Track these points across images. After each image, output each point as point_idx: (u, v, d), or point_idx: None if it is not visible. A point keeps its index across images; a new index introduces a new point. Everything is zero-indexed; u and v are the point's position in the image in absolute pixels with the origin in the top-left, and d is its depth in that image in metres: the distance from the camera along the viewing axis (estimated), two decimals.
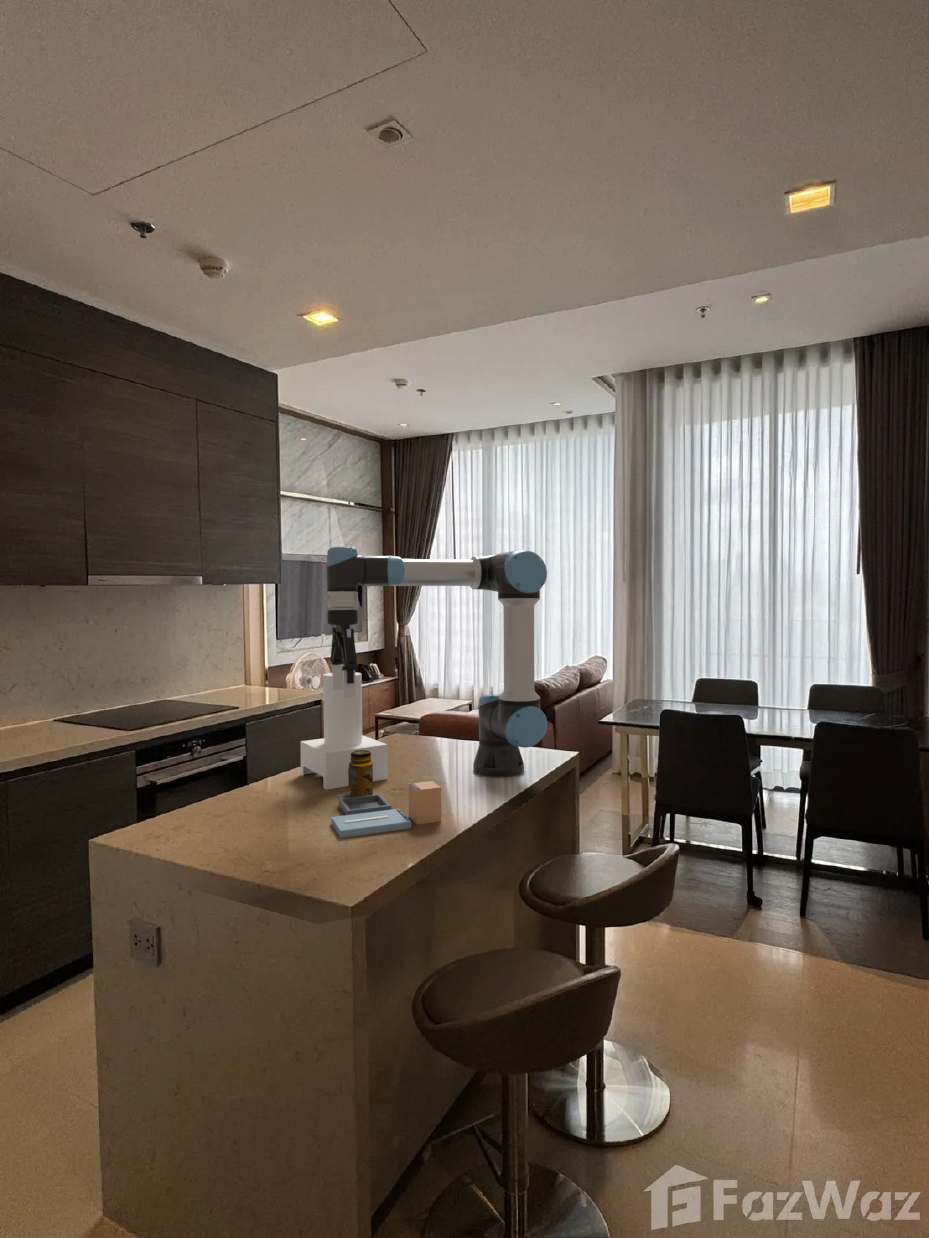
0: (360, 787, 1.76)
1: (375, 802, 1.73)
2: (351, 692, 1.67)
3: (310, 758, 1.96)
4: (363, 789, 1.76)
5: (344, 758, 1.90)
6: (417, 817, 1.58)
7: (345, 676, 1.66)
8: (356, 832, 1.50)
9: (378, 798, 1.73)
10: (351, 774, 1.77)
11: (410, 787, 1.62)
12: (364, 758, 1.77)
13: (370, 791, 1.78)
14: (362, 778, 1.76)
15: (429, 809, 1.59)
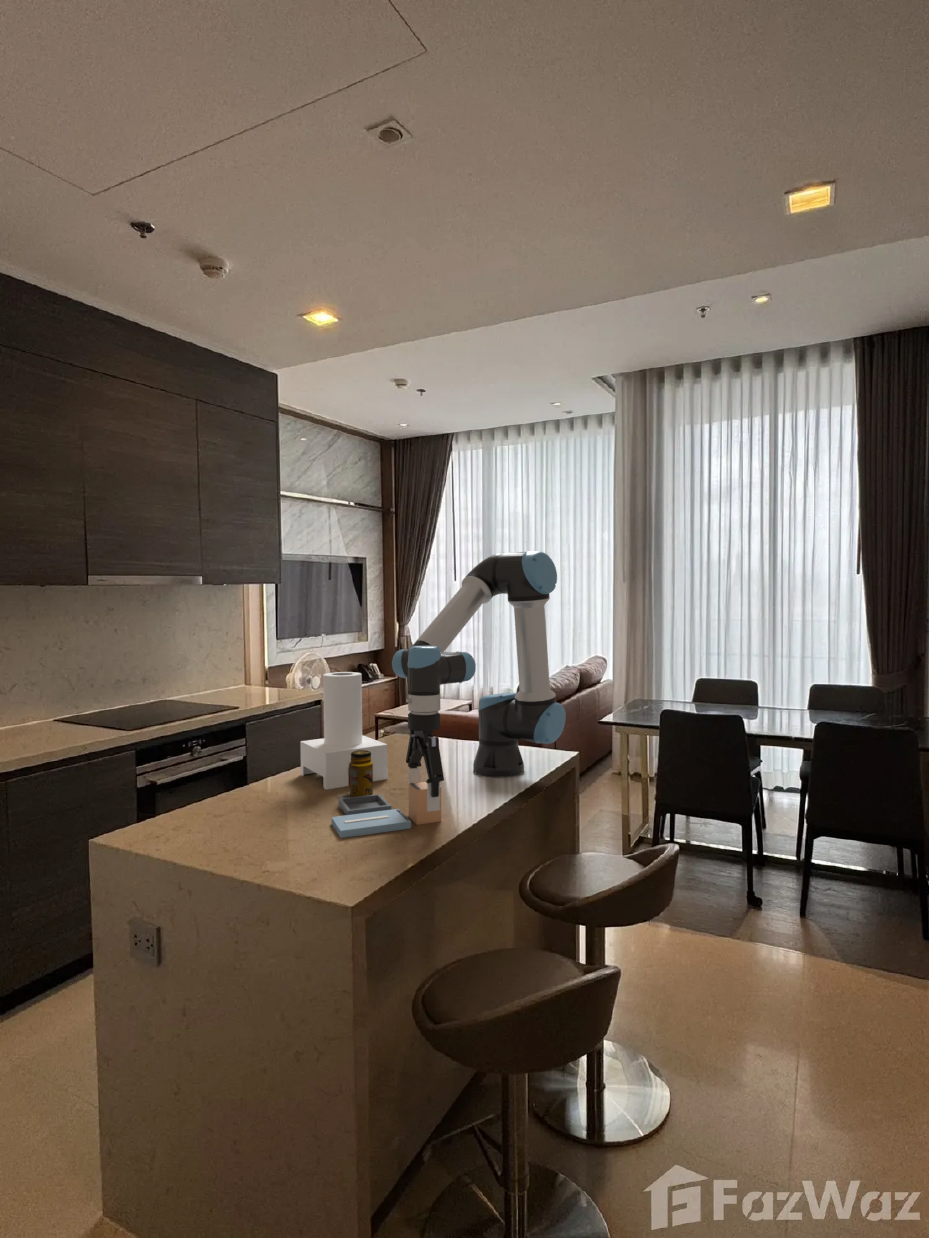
0: (360, 787, 1.76)
1: (375, 802, 1.73)
2: (435, 806, 1.55)
3: (310, 758, 1.96)
4: (363, 789, 1.76)
5: (344, 758, 1.90)
6: (417, 817, 1.58)
7: (429, 789, 1.54)
8: (356, 832, 1.50)
9: (378, 798, 1.73)
10: (351, 774, 1.77)
11: (410, 787, 1.62)
12: (364, 758, 1.77)
13: (370, 791, 1.78)
14: (362, 778, 1.76)
15: None
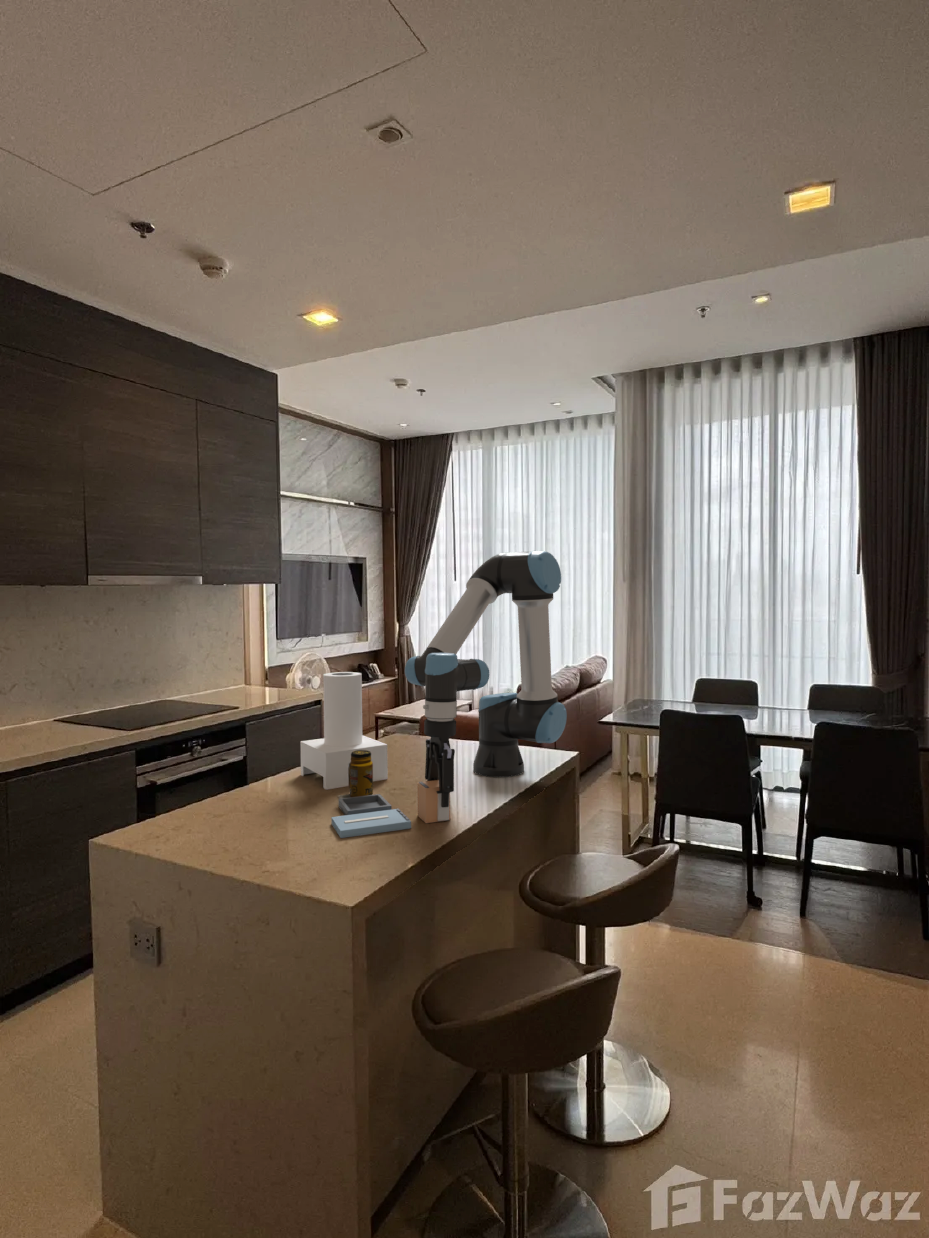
0: (360, 787, 1.76)
1: (375, 802, 1.73)
2: (445, 815, 1.59)
3: (310, 758, 1.96)
4: (363, 789, 1.76)
5: (344, 758, 1.90)
6: (426, 815, 1.58)
7: (439, 799, 1.59)
8: (356, 832, 1.50)
9: (378, 798, 1.73)
10: (351, 774, 1.77)
11: (419, 786, 1.62)
12: (364, 758, 1.77)
13: (370, 791, 1.78)
14: (362, 778, 1.76)
15: None
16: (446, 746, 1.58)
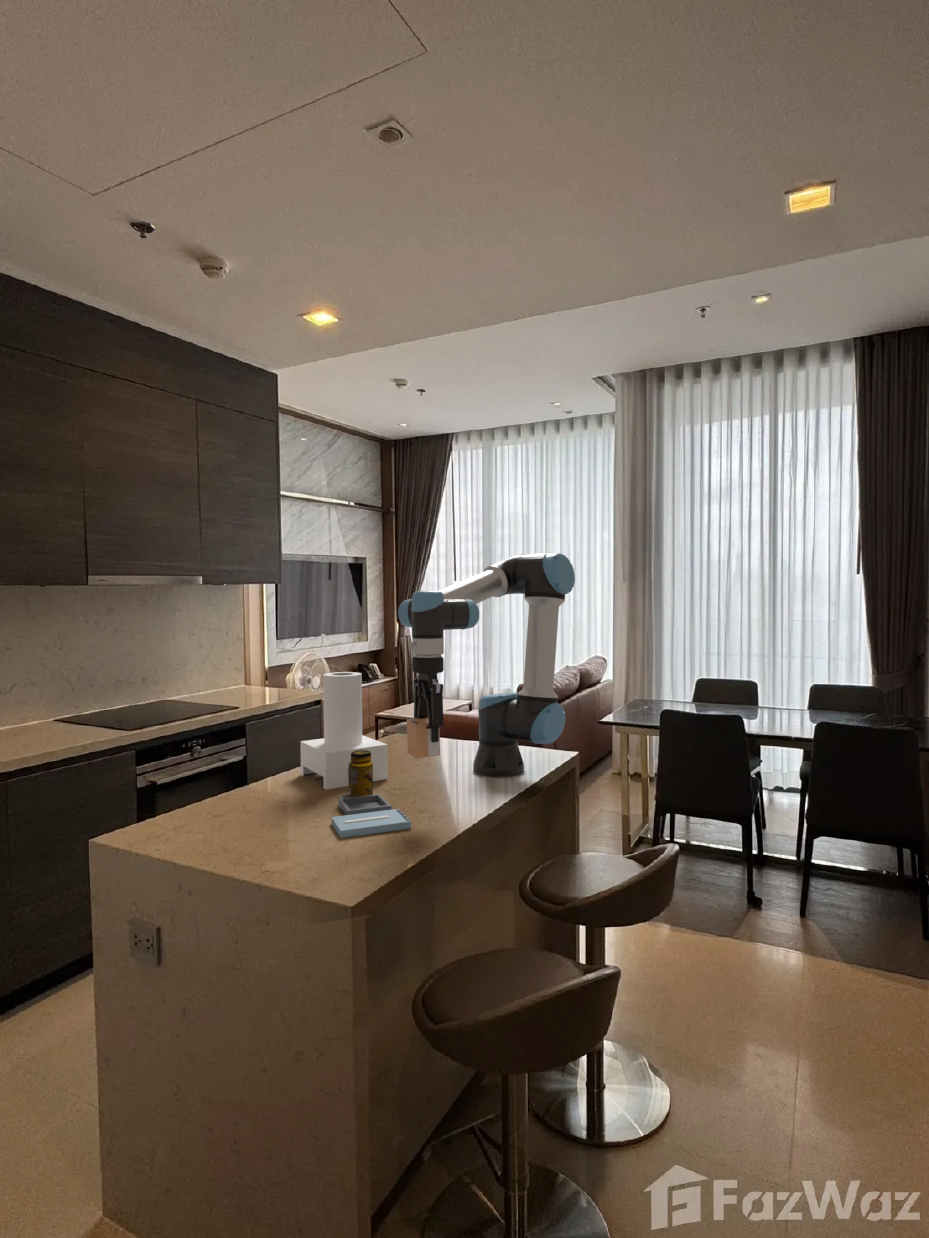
0: (360, 787, 1.76)
1: (375, 802, 1.73)
2: (435, 751, 1.61)
3: (310, 758, 1.96)
4: (363, 789, 1.76)
5: (344, 758, 1.90)
6: (416, 750, 1.60)
7: (429, 734, 1.60)
8: (356, 832, 1.50)
9: (378, 798, 1.73)
10: (351, 774, 1.77)
11: (408, 723, 1.64)
12: (364, 758, 1.77)
13: (370, 791, 1.78)
14: (361, 778, 1.76)
15: None
16: (434, 682, 1.59)
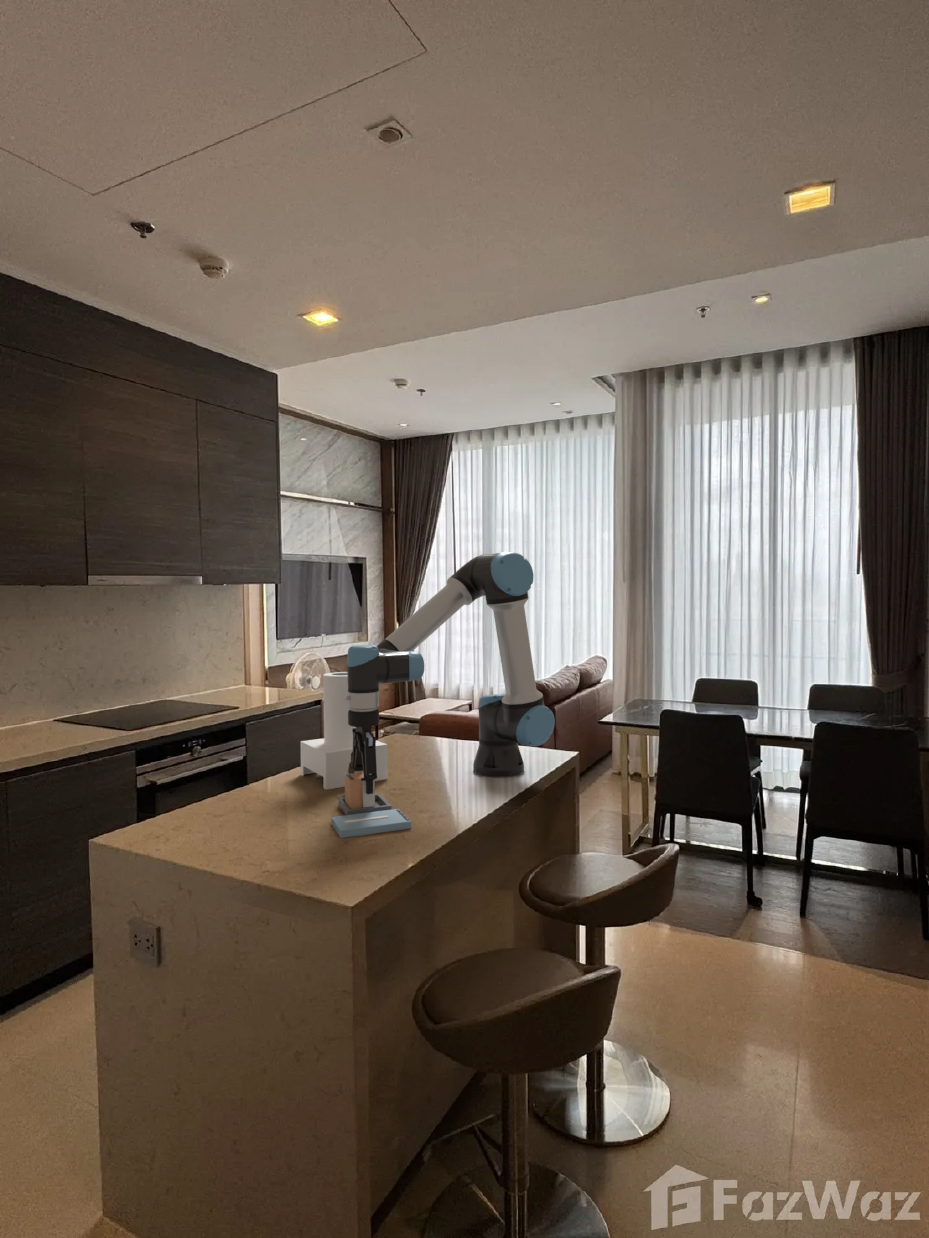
0: None
1: (375, 802, 1.73)
2: (370, 802, 1.64)
3: (310, 758, 1.96)
4: None
5: (344, 758, 1.90)
6: (351, 806, 1.64)
7: (364, 786, 1.64)
8: (356, 832, 1.50)
9: (378, 798, 1.73)
10: None
11: (345, 778, 1.68)
12: None
13: None
14: None
15: (362, 798, 1.65)
16: (368, 735, 1.63)
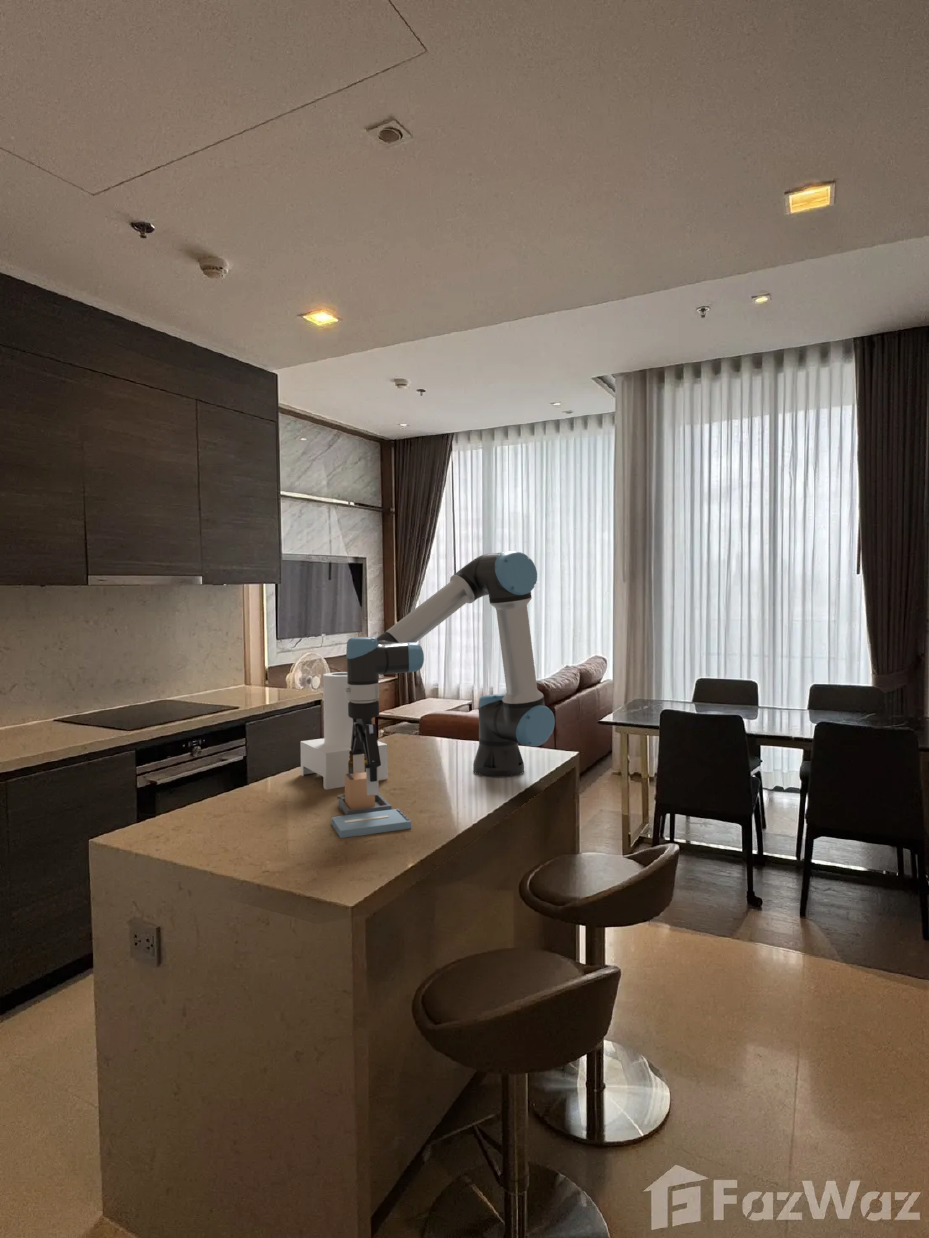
0: None
1: (375, 802, 1.73)
2: (374, 790, 1.62)
3: (310, 758, 1.96)
4: None
5: (344, 758, 1.90)
6: (351, 806, 1.64)
7: (368, 774, 1.61)
8: (356, 832, 1.50)
9: (378, 798, 1.73)
10: (350, 772, 1.78)
11: (345, 778, 1.68)
12: None
13: None
14: None
15: (362, 798, 1.65)
16: (368, 724, 1.64)
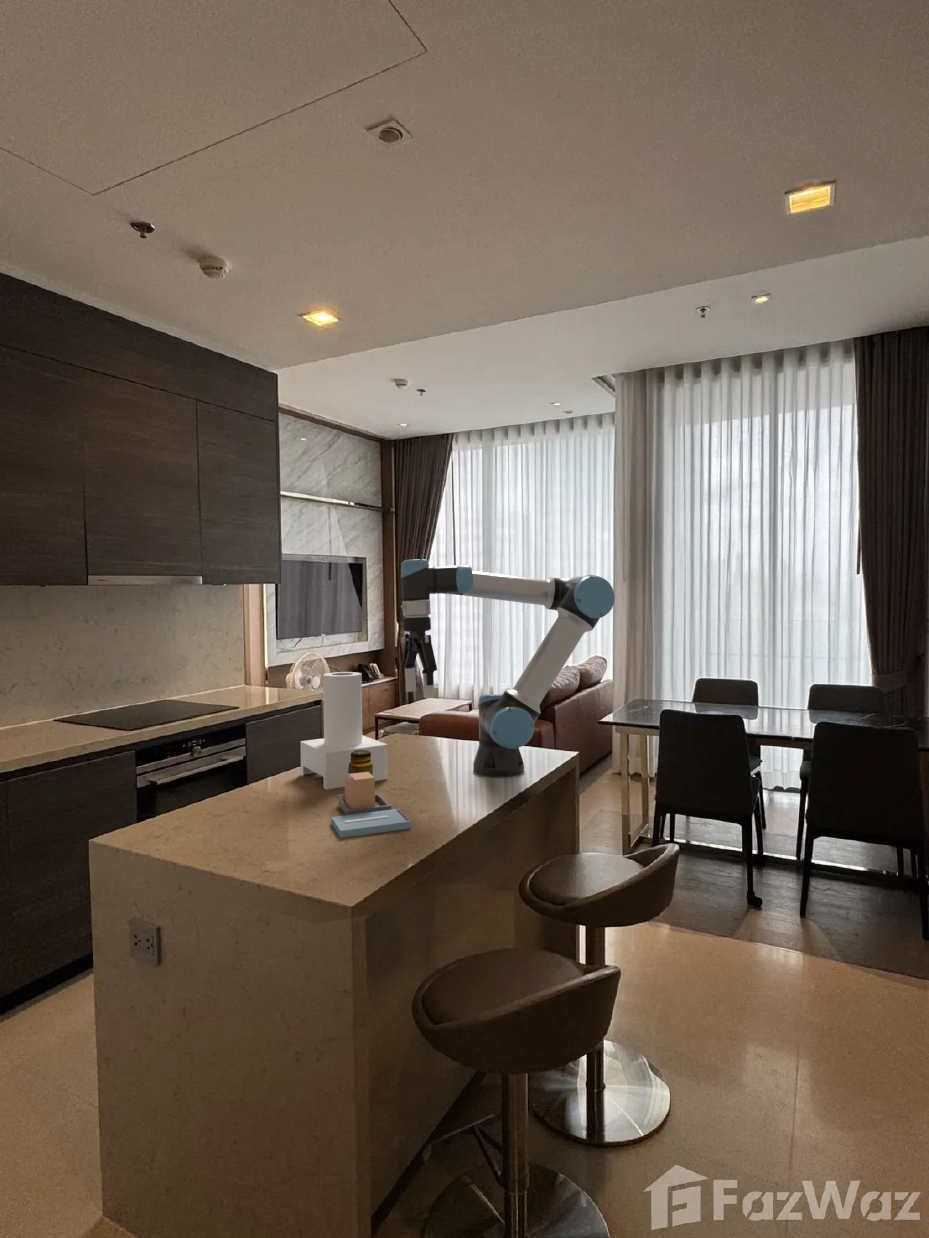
0: None
1: (375, 802, 1.73)
2: (430, 693, 1.81)
3: (310, 758, 1.96)
4: None
5: (344, 758, 1.90)
6: (351, 806, 1.64)
7: (425, 678, 1.80)
8: (356, 832, 1.50)
9: (378, 798, 1.73)
10: None
11: (345, 778, 1.68)
12: (363, 758, 1.77)
13: None
14: None
15: (362, 798, 1.65)
16: None
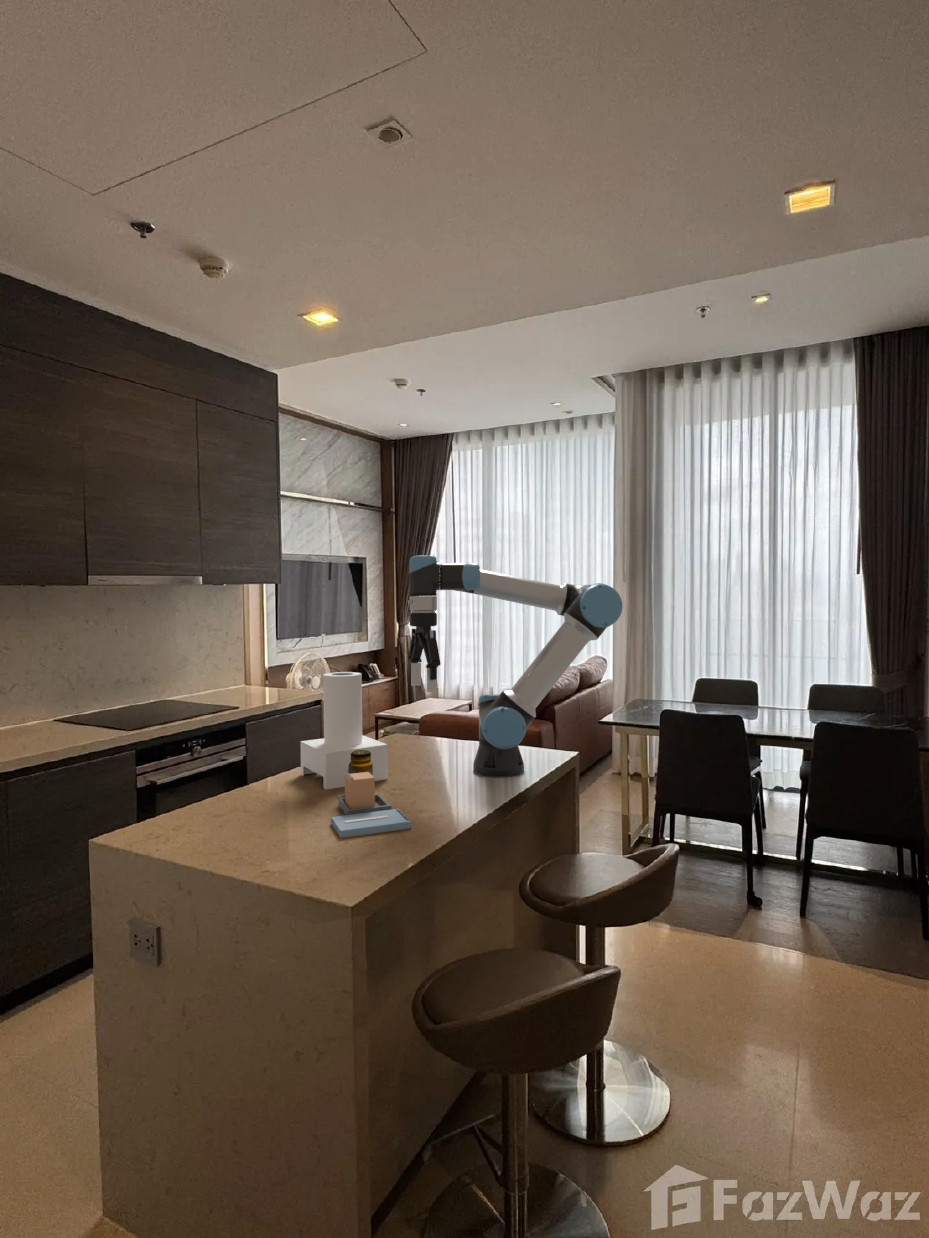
0: None
1: (375, 802, 1.73)
2: (433, 687, 1.84)
3: (310, 758, 1.96)
4: None
5: (344, 758, 1.90)
6: (351, 806, 1.64)
7: (428, 673, 1.83)
8: (356, 832, 1.50)
9: (378, 798, 1.73)
10: None
11: (345, 778, 1.68)
12: (363, 758, 1.77)
13: None
14: None
15: (362, 798, 1.65)
16: None
